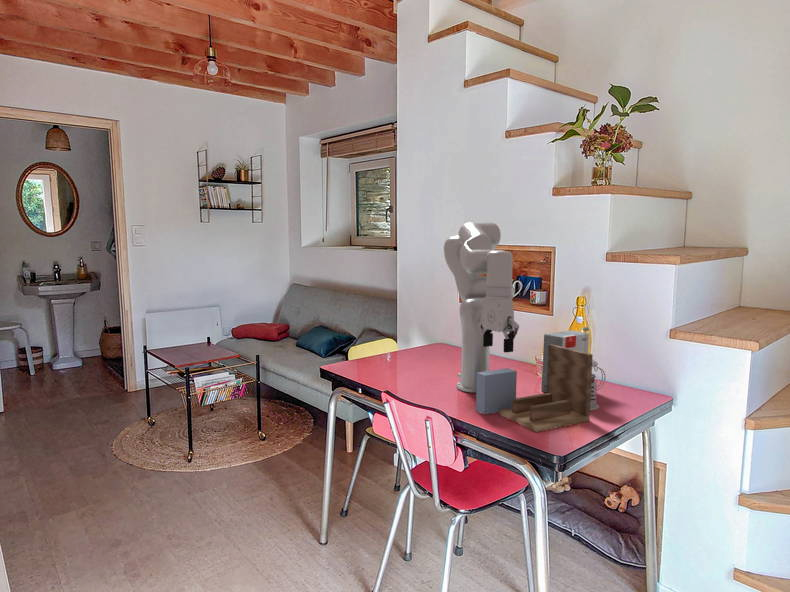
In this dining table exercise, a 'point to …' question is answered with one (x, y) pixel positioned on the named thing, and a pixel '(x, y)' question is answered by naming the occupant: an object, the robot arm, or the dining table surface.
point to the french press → (594, 364)
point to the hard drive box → (562, 339)
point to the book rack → (557, 393)
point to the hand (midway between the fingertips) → (497, 349)
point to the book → (495, 390)
